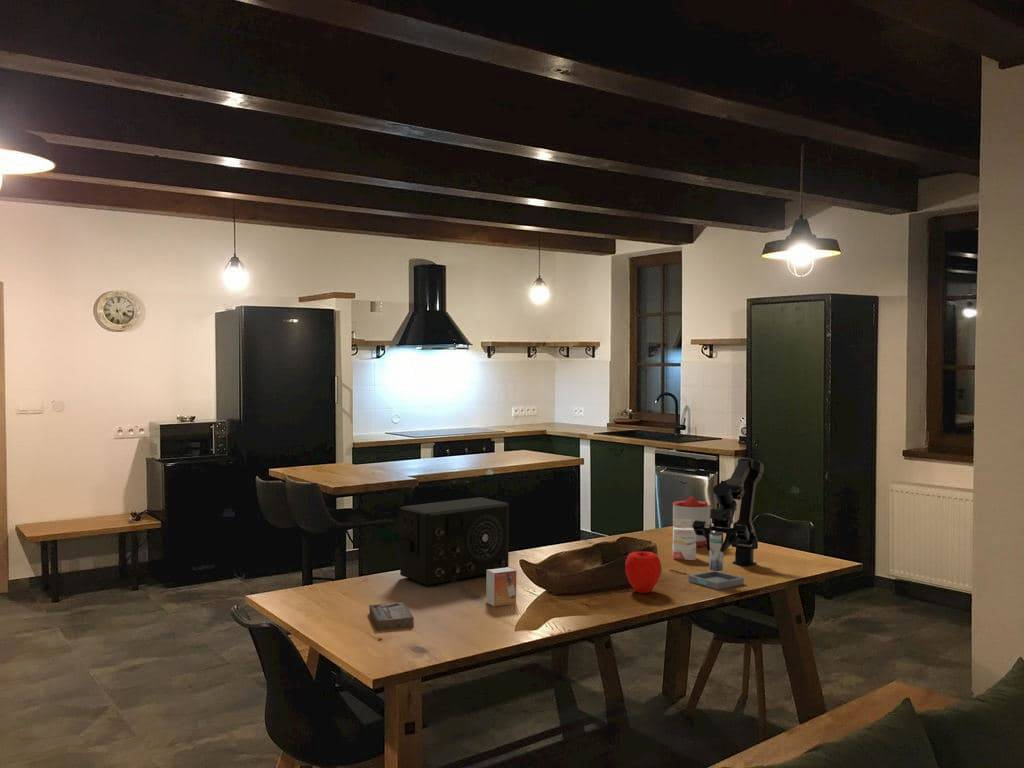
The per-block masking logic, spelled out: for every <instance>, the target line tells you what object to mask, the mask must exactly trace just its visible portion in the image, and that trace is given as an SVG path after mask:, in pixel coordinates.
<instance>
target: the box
mask: <svg viewBox="0 0 1024 768" xmlns="http://www.w3.org/2000/svg"><path fill="white" fill-rule="evenodd" d="M368 609H369V615H370V618H371V620H372V623H374V626H375V628H376V630H377V631H385V630H394V629H395V630H396V629H397V630H398V629H408V628H409V629H410V628H414V626H415V625H414V616H413V614H412V613H411V612H410V610H409V609H408V607H407V605H406V603H405V602H404V601H401V602H399V601H398V602H391V603H389V602H388V603H380V604H370V605H369V607H368Z"/></svg>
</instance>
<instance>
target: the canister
mask: <svg viewBox="0 0 1024 768" xmlns="http://www.w3.org/2000/svg"><path fill="white" fill-rule="evenodd" d="M723 543H724V533H722V531H719V530H712V531H710V534H709V551H708V553H709V555H708V559H709V560H708V561H709V562H708V563H709V564H708V566H709V567H708V569H709V570H710V571H719V572H722V571H723V570H724V552H722V551H721V550H722V546H723Z"/></svg>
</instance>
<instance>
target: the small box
mask: <svg viewBox="0 0 1024 768" xmlns="http://www.w3.org/2000/svg"><path fill="white" fill-rule="evenodd" d="M485 575H486V584H485V585H486V588H485V589H486V593H485V594H486V595H485V596H486V597H485V598H486V599H485V600H486V601H485V602H486V603H487V604H489V605H490V606H492V607H499V606H500V607H501V606H508V605H509V606H510V605H516V604H517V570H516V569H515V568H514V569H513V568H511V567H506V568H499V569H488V570H487V572H486V574H485Z"/></svg>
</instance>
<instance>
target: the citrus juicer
mask: <svg viewBox="0 0 1024 768" xmlns="http://www.w3.org/2000/svg"><path fill="white" fill-rule="evenodd" d="M711 509H712V504H708V502H707V501H702V500H697V499H696V498H695V496H693V495H691V496H689V497H688V498H686V500H676V501H673V502H672V528H673V527H674V519H689V520H699V521H705V522H706V524H709V525H711V518H710V512H711ZM681 524H688V522H681ZM705 545H707V543H706V538H705V537H704V536H699V535H696V547H704V546H705Z"/></svg>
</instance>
